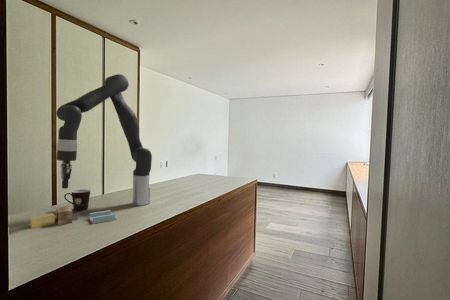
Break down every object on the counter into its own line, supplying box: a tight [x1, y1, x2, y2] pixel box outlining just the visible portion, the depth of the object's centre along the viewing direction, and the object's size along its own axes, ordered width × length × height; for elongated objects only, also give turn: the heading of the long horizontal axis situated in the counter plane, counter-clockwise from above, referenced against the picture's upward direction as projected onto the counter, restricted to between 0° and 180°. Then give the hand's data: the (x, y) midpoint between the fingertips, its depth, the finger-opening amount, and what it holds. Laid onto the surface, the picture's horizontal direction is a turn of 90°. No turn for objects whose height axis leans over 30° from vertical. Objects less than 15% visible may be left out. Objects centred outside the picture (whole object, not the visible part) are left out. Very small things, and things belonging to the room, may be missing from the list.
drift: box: [55, 211, 79, 225], centre depth 110 cm, size 9×3×3 cm, turn 139°
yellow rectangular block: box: [29, 213, 56, 229], centre depth 104 cm, size 8×4×4 cm, turn 138°
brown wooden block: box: [55, 205, 73, 226], centre depth 109 cm, size 5×8×6 cm, turn 41°
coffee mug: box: [63, 188, 91, 212], centre depth 127 cm, size 12×9×10 cm
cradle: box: [88, 209, 117, 225], centre depth 114 cm, size 10×8×3 cm
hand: (64, 188), depth 108 cm, fingers closed
